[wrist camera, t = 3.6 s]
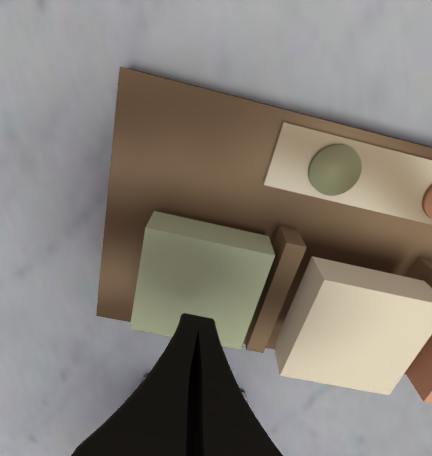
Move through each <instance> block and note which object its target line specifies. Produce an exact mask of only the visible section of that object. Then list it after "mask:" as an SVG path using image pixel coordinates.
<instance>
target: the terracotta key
mask: <svg viewBox="0 0 432 456" xmlns="http://www.w3.org/2000/svg"><path fill="white" fill-rule="evenodd" d="M405 373H406V375H407V376H408V378H409V379H410V381H411V383H412V384H413V386H414V387H415V389H416V390H417V392H418V394H419V395H420V397H421V398H422V400H423V401H424V402H429V403H432V335H431V336H430V337H429V339H428V340H427V342H426V343H425V345H424V346H423V347H422V349H421V350H420V352H419V353H418V355H417V356H416V357H415V359H414V360H413V362H412V363H411V365H410V366H409V367H408V369H407V370H406V372H405Z"/></svg>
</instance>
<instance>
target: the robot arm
mask: <svg viewBox="0 0 432 456" xmlns="http://www.w3.org/2000/svg"><path fill="white" fill-rule="evenodd" d="M71 456H283V455H282V454H281V453H280V451H279V450H278V449H277V447H276V446H275V445H274V443H273V442H272V441H271V439H270V438H269V436H268V435H267V433H266V432H265V430H264V429H263V427H262V426H261V424H260V423H259V421H258V420H257V418H256V417H255V415H254V413H253V412H252V410H251V408H250V407H249V405H248V403H247V401H246V394H245V393H244V392H241V390H240V388H239V386H238V384H237V382H236V380H235V378H234V376H233V374H232V371H231V369H230V367H229V364H228V362H227V359H226V356H225V354H224V351H223V348H222V346H221V342H220V339H219V336H218V333H217V329H216V325H215V321H214V319H212V318H207V317H202V316H197V315H192V314H187V313H183V314H181V317H180V321H179V324H178V326H177V329H176V331H175V333H174V335H173V337H172V339H171V340H170V342H169V344H168V346H167V348H166V349H165V351H164V352H163V354H162V355H161V357H160V358H159V360H158V361H157V363H156V364H155V366H154V367H153V369H152V370H151V371H150V373H149V374H148V375H147V376H146V377H144V379H143V382H142V383H141V384H140V385H139V387H138V388H137V389H136V390H135V391H134V392H133V394H132V395H131V396H130V397H129V398H128V399H127V400H126V401H125V403H124V404H123V405H122V406H121V407H120V408H119V409H118V410H117V411H116V412H115V413H114V414H113V415H112V416H111V417H110V418H109V419H108V420H107V421H106V422H105V423H104V424H103V425H101V426H100V427H99V428H98V429H97V430H96V431H95V432H94V433H92V434H91V435H90V436H89V437H88V438H87V439H86V440H85V441H83V442H82V443H81V444H80V445H79V446H78V447H77V448H76V450H75V451H74V452H73V454H72V455H71Z"/></svg>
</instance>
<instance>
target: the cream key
mask: <svg viewBox="0 0 432 456" xmlns="http://www.w3.org/2000/svg"><path fill="white" fill-rule="evenodd" d="M431 335H432V288H431V287H430V286H429V285H428V284H427V283H426V282H425V281H423V280H418V279H414V278H409V277H404V276H400V275H395V274H391V273H386V272H382V271H377V270H372V269H368V268H363V267H359V266H354V265H350V264H345V263H340V262H336V261H331V260H327V259H322V258H318V257H313V256H312V257H311V259H310V262H309V264H308V266H307V269H306V271H305V273H304V276H303V278H302V280H301V283H300V285H299V287H298V290H297V292H296V295H295V297H294V299H293V302H292V304H291V306H290V309H289V311H288V313H287V316H286V318H285V320H284V323H283V325H282V327H281V330H280V332H279V334H278V337H277V339H276V341H275V344H274V349H275V354H276V359H277V363H278V368H279V373H280V376H286V377H291V378H297V379H302V380H308V381H313V382H319V383H324V384H330V385H335V386H341V387H346V388H352V389H357V390H363V391H368V392H374V393H379V394H385V395H389V394H390V393H391V392H392V390H393V389H394V387H395V386H396V384H397V383H398V382H399V380H400V379H401V377H402V376H403V374H404V373H405V372H406V370H407V369H408V367H409V366H410V365H411V363H412V362H413V360H414V359H415V357H416V356H417V355H418V353H419V352H420V350H421V349H422V347H423V346H424V345H425V343H426V342H427V340H428V339H429V337H430V336H431Z"/></svg>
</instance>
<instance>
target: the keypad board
mask: <svg viewBox="0 0 432 456" xmlns="http://www.w3.org/2000/svg"><path fill="white" fill-rule="evenodd" d="M154 211H157V212H162V213H166V214H171V215H175V216H180V217H184V218H189V219H193V220H198V221H203V222H207V223H212V224H216V225H221V226H225V227H230V228H234V229H239V230H243V231H248V232H252V233H257V234H261V235H266V236H269V238H270V241H271V244H272V247H273V251H274V254H275V257H274V260H273V263H272V266H271V268H270V271H269V274H268V276H267V279H266V282H265V285H264V287H263V290H262V293H261V295H260V298H259V301H258V304H257V306H256V309H255V312H254V314H253V317H252V320H251V323H250V325H249V328H248V331H247V333H246V336H245V339H244V342H243V343H244V344H246V350H250V351H256V352H261V353H263V352H264V350H265V348H271V349H274V344H275V341H276V339H277V337H278V334H279V332H280V330H281V327H282V325H283V323H284V320H285V318H286V316H287V313H288V311H289V309H290V306H291V304H292V302H293V299H294V297H295V295H296V292H297V290H298V287H299V285H300V283H301V280H302V278H303V276H304V273H305V271H306V269H307V266H308V264H309V262H310V259H311V257H312V256H313V257H318V258H322V259H327V260H331V261H336V262H340V263H345V264H350V265H354V266H359V267H363V268H368V269H372V270H377V271H382V272H386V273H391V274H395V275H400V276H404V277H409V278H414V279H418V280H423V281H425V282H426V283H427V284H428V285H429V286H430V287H431V288H432V147H428V146H424V145H420V144H416V143H413V142H409V141H405V140H401V139H397V138H393V137H390V136H386V135H382V134H378V133H374V132H370V131H367V130H363V129H359V128H355V127H351V126H347V125H344V124H340V123H336V122H332V121H328V120H324V119H321V118H317V117H313V116H309V115H305V114H301V113H298V112H294V111H290V110H286V109H282V108H278V107H275V106H271V105H267V104H263V103H259V102H255V101H252V100H248V99H244V98H240V97H236V96H232V95H229V94H225V93H221V92H217V91H213V90H209V89H206V88H202V87H198V86H194V85H190V84H186V83H183V82H179V81H175V80H171V79H167V78H163V77H160V76H156V75H152V74H148V73H144V72H140V71H137V70H133V69H129V68H123V67H120V72H119V83H118V93H117V104H116V114H115V125H114V135H113V146H112V156H111V167H110V177H109V188H108V199H107V209H106V220H105V230H104V241H103V251H102V262H101V272H100V283H99V293H98V304H97V315H96V316H101V317H106V318H112V319H117V320H122V321H128V322H131V317H132V310H133V304H134V297H135V291H136V285H137V278H138V272H139V266H140V259H141V253H142V246H143V240H144V234H145V227H146V226H147V224H148V222H149V220H150V218H151V216H152V214H153V212H154ZM404 374H406V373H404Z"/></svg>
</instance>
